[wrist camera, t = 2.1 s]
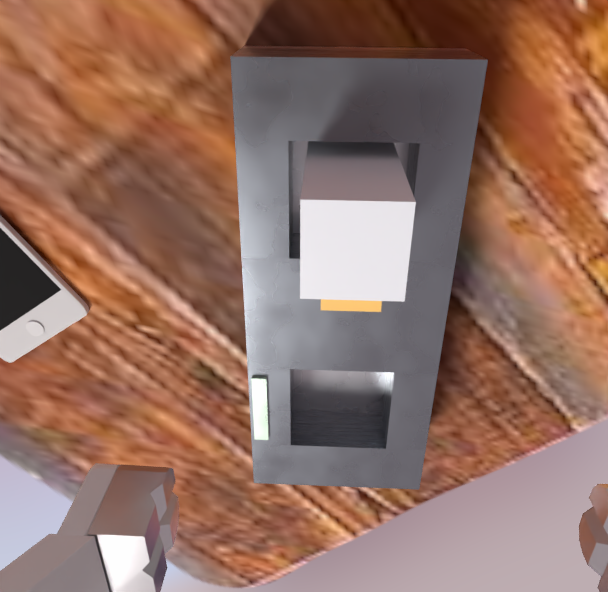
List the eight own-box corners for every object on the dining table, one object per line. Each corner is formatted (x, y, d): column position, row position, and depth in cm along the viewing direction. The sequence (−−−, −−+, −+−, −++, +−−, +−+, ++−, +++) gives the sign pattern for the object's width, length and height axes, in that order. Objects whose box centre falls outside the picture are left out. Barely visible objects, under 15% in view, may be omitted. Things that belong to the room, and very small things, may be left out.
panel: (244, 45, 25) (229, 57, 22) (465, 48, 25) (489, 60, 21) (261, 435, 37) (253, 485, 33) (410, 441, 37) (419, 491, 33)
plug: (308, 140, 26) (300, 199, 19) (393, 142, 26) (415, 202, 19) (307, 234, 29) (299, 316, 22) (385, 236, 28) (402, 319, 22)
